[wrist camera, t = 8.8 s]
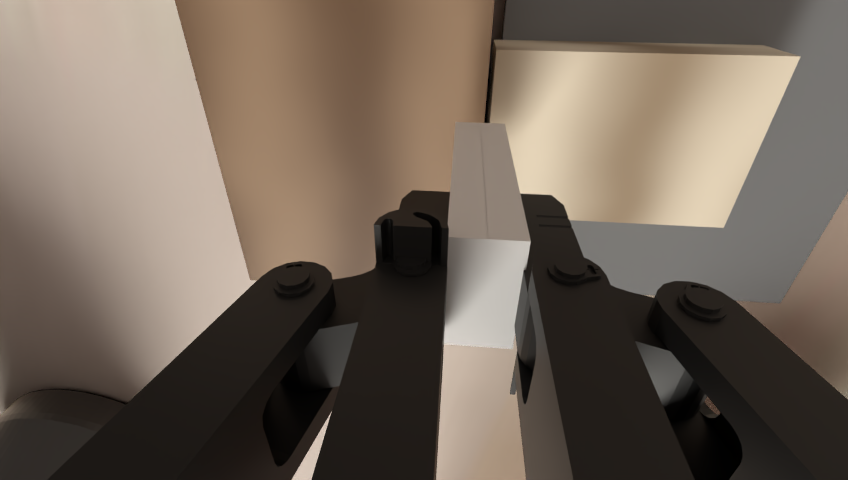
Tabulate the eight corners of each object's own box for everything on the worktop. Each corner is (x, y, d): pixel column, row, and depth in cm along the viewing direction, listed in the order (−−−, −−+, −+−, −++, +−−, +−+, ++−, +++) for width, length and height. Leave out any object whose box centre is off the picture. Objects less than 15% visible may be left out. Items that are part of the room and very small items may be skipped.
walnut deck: (271, 248, 22) (250, 279, 20) (192, -103, 14) (144, -113, 12) (469, 260, 21) (469, 294, 19) (499, -103, 14) (504, -114, 11)
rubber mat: (478, 277, 22) (478, 284, 21) (519, -146, 13) (521, -149, 13) (773, 296, 21) (779, 303, 20) (1035, -150, 12) (1055, -154, 12)
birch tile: (480, 192, 19) (481, 215, 17) (493, 39, 15) (496, 50, 14) (700, 202, 18) (723, 227, 16) (763, 45, 15) (800, 56, 13)
